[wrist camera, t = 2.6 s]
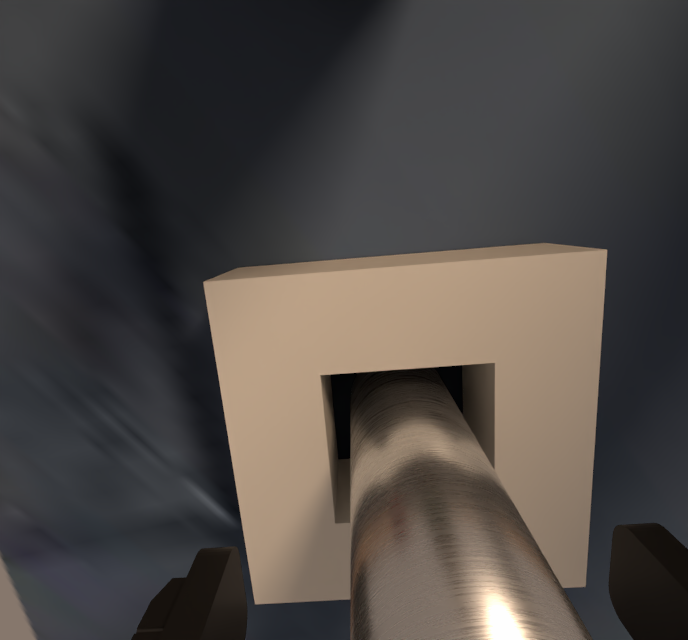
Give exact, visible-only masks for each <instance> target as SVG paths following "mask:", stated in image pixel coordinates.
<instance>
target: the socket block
mask: <svg viewBox="0 0 688 640" xmlns="http://www.w3.org/2000/svg"><path fill="white" fill-rule="evenodd" d="M606 263H607V250H606V249H597V248H587V247H578V246H569V245H560V244H550V243H537V244H525V245H513V246H500V247H488V248H475V249H463V250H451V251H438V252H426V253H414V254H401V255H389V256H376V257H364V258H352V259H339V260H327V261H314V262H302V263H290V264H277V265H265V266H253V267H240V268H236V269H234V270H231V271H229V272H226V273H224V274H221V275H219V276H216V277H214V278H212V279H209V280H207V281H204V282H203V284H204V290H205V297H206V303H207V309H208V315H209V321H210V328H211V334H212V340H213V346H214V353H215V359H216V365H217V371H218V377H219V384H220V390H221V396H222V402H223V409H224V415H225V421H226V427H227V433H228V440H229V446H230V452H231V458H232V464H233V471H234V477H235V483H236V489H237V496H238V502H239V508H240V514H241V520H242V527H243V533H244V539H245V545H246V551H247V558H248V564H249V570H250V576H251V583H252V589H253V595H254V601H255V604H273V603H291V602H310V601H329V600H347V599H350V459H338V450H337V439H336V429H335V418H334V407H333V397H332V386H331V376H330V375H331V374H345V373H359V372H373V371H387V370H401V369H415V368H429V367H443V366H457V365H462V392H463V417H464V419H465V420H466V422H467V424H468V426H469V427H470V429H471V431H472V432H473V434H474V436H475V438H476V439H477V441H478V443H479V445H480V446H481V448H482V450H483V451H484V453H485V455H486V457H487V458H488V460H489V462H490V463H491V465H492V467H493V469H494V470H495V472H496V474H497V476H498V477H499V479H500V481H501V482H502V484H503V486H504V488H505V489H506V491H507V493H508V494H509V496H510V498H511V500H512V501H513V503H514V505H515V507H516V508H517V510H518V512H519V513H520V515H521V517H522V519H523V520H524V522H525V524H526V525H527V527H528V529H529V531H530V532H531V534H532V536H533V538H534V539H535V541H536V543H537V544H538V546H539V548H540V550H541V551H542V553H543V555H544V556H545V558H546V560H547V562H548V563H549V565H550V567H551V569H552V570H553V572H554V574H555V575H556V577H557V579H558V581H559V582H560V584H561V586H562V587H563V588H572V587H586V573H587V557H588V542H589V526H590V511H591V495H592V480H593V464H594V449H595V433H596V418H597V402H598V387H599V371H600V356H601V340H602V325H603V309H604V294H605V278H606Z"/></svg>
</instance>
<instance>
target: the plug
mask: <svg viewBox="0 0 688 640" xmlns="http://www.w3.org/2000/svg"><path fill="white" fill-rule="evenodd" d="M350 640H593V639H592V637H591V636H590V634H589V632H588V631H587V629H586V627H585V625H584V624H583V622H582V620H581V618H580V617H579V615H578V613H577V612H576V610H575V608H574V606H573V605H572V603H571V601H570V600H569V598H568V596H567V594H566V593H565V591H564V589H563V587H562V586H561V584H560V582H559V581H558V579H557V577H556V575H555V574H554V572H553V570H552V569H551V567H550V565H549V563H548V562H547V560H546V558H545V556H544V555H543V553H542V551H541V550H540V548H539V546H538V544H537V543H536V541H535V539H534V538H533V536H532V534H531V532H530V531H529V529H528V527H527V525H526V524H525V522H524V520H523V519H522V517H521V515H520V513H519V512H518V510H517V508H516V507H515V505H514V503H513V501H512V500H511V498H510V496H509V494H508V493H507V491H506V489H505V488H504V486H503V484H502V482H501V481H500V479H499V477H498V476H497V474H496V472H495V470H494V469H493V467H492V465H491V463H490V462H489V460H488V458H487V457H486V455H485V453H484V451H483V450H482V448H481V446H480V445H479V443H478V441H477V439H476V438H475V436H474V434H473V432H472V431H471V429H470V427H469V426H468V424H467V422H466V420H465V419H464V417H463V415H462V413H461V412H460V410H459V408H458V407H457V405H456V403H455V401H454V400H453V398H452V396H451V395H450V393H449V391H448V389H447V388H446V386H445V384H444V382H443V381H442V379H441V377H440V376H439V374H438V372H437V371H436V370H435V368H434V367H429V368H415V369H401V370H387V371H373V372H359V373H358V374H357V376H356V377H355V379H354V382H353V384H352V388H351V394H350Z"/></svg>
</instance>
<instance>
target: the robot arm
mask: <svg viewBox="0 0 688 640" xmlns="http://www.w3.org/2000/svg"><path fill="white" fill-rule="evenodd" d="M609 593H610V597H611V601H612V604H613V607H614V609H615V611H616V614H617V615H618V617H619V619H620V621H621V622H622V624H623V625H624V627H625V628H626V629H627V631H628V632H629V634H630V635H631V637H632V638H633V640H688V549H687V548H686V547H685V546H683V545H682V544H681V543H680V542H679V541H678V540H677V539H676V538H675V537H674V536H673V535H672V534H671V533H670V532H669V531H668V530H667V529H665V528H664V527H663V526H661V525H660V524H657V523H645V524H628V525H618V526H616V527H615V529H614V531H613V539H612V550H611V562H610V574H609ZM246 628H247V601H246V594H245V588H244V581H243V574H242V568H241V561H240V555H239V551H238V548H237V547H221V548H204V549H201V550H200V551H199V552H198V553H197V555H196V558H195V560H194V562H193V564H192V566H191V569H190V571H189V573H188V575H187V577H186V578H172V579H171V581H170V582H169V583H168V584H167V585H166V586H165V587H164V588H163V589H162V590H161V591H160V592H159V593H158V594H157V595H156V597H155V598H154V599H153V600H152V601H151V602H150V604H149V606H148V608H147V610H146V612H145V614H144V616H143V618H142V620H141V622H140V624H139V626H138V628H137V633H136V634H134V635H133V637H132V639H131V640H245V635H246Z"/></svg>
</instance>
